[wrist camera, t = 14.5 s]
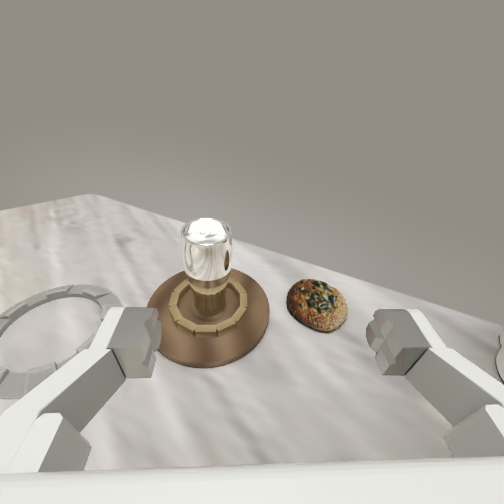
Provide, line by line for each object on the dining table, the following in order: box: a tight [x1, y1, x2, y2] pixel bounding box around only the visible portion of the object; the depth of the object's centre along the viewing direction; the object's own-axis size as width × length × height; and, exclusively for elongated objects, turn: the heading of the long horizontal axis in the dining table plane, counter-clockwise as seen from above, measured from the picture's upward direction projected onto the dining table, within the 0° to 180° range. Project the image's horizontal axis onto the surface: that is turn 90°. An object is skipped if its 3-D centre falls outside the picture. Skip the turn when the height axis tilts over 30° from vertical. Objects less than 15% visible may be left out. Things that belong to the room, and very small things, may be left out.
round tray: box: [147, 268, 269, 368], centre depth 43 cm, size 20×20×3 cm
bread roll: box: [287, 279, 348, 332], centre depth 46 cm, size 11×11×5 cm
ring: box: [0, 285, 123, 399], centre depth 39 cm, size 19×19×2 cm
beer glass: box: [181, 218, 232, 321], centre depth 38 cm, size 7×7×15 cm
